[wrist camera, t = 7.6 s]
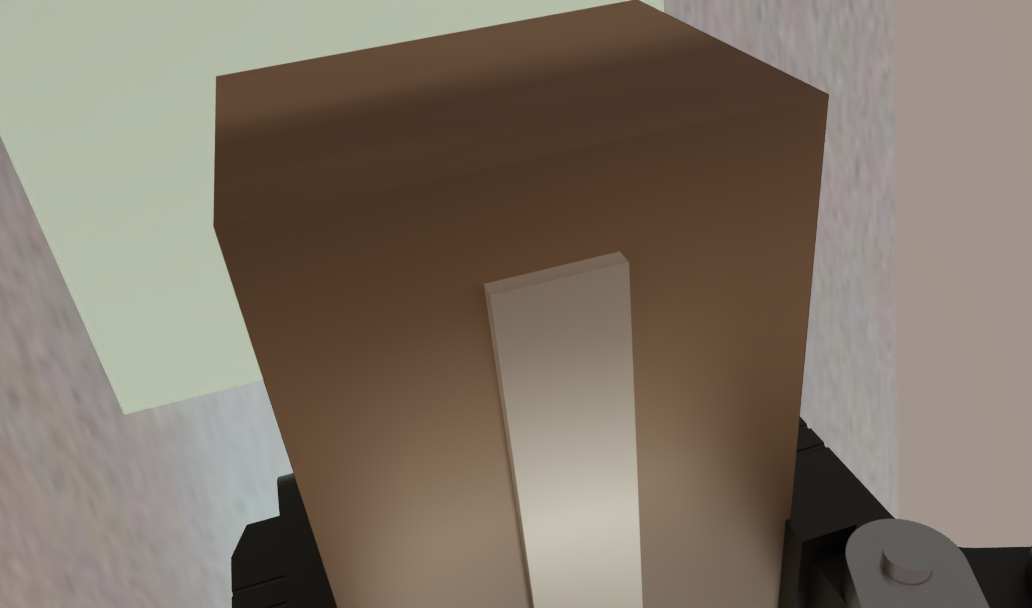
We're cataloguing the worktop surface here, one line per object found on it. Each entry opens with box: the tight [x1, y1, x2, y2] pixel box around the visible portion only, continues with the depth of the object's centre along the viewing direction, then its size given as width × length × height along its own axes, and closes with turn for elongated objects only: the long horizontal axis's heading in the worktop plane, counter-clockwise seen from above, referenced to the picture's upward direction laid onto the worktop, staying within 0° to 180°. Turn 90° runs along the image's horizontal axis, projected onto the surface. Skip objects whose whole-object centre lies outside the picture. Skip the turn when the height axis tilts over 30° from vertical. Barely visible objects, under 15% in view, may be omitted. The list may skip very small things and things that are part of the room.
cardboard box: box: [213, 0, 829, 608], centre depth 11 cm, size 12×5×4 cm, turn 7°
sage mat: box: [0, 0, 664, 415], centre depth 25 cm, size 18×14×1 cm
